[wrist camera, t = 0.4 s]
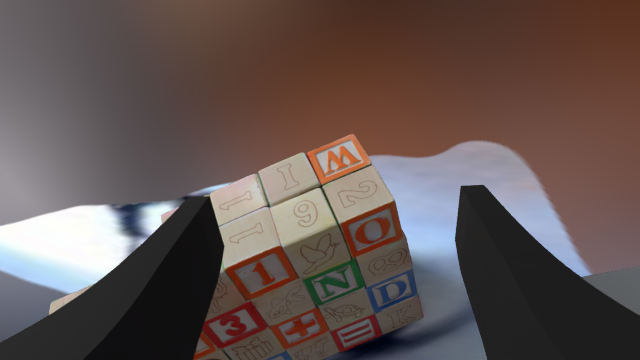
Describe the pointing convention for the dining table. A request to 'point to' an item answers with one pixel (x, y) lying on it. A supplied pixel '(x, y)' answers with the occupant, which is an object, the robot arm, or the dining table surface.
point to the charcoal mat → (619, 286)
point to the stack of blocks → (306, 260)
